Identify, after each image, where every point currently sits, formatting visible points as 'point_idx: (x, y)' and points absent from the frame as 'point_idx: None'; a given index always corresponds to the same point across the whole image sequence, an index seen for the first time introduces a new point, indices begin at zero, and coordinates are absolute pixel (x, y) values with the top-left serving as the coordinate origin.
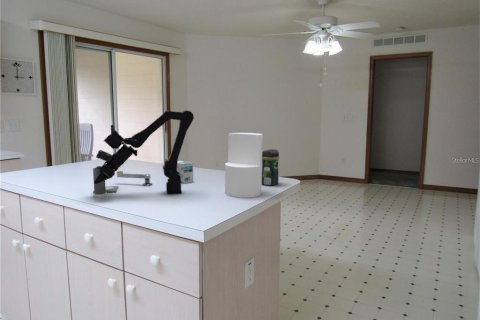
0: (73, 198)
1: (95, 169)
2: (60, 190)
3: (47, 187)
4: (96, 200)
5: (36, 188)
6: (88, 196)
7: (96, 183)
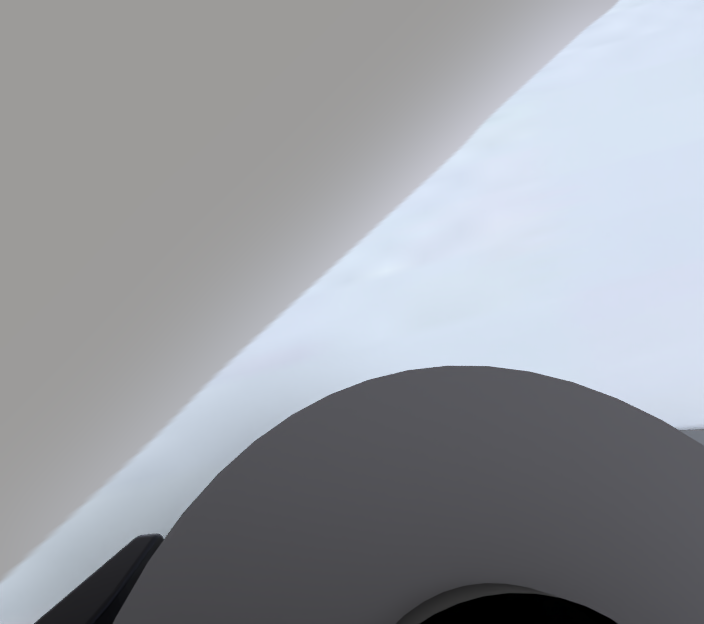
0: (303, 304)
1: (138, 599)
2: (589, 144)
3: (660, 60)
4: None
5: (615, 26)
6: None
7: None
